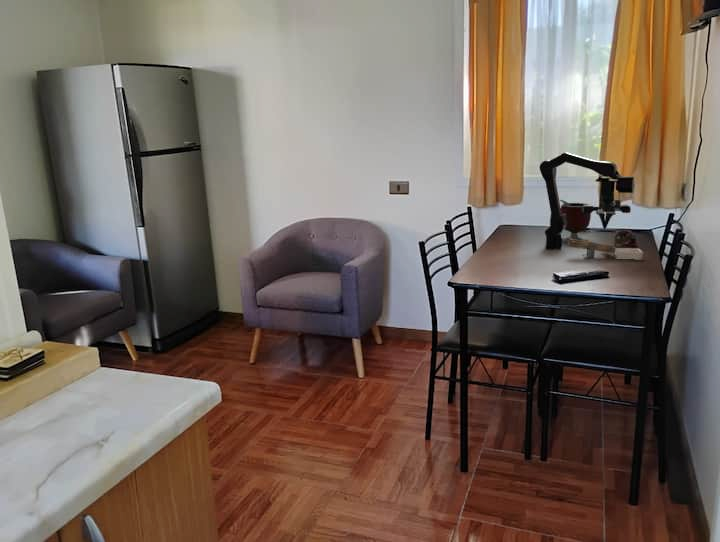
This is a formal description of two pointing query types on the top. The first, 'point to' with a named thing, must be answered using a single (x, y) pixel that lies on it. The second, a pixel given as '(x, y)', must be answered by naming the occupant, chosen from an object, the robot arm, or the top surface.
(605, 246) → the tan flat board
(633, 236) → the pottery mug
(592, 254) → the fulcrum
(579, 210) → the mate gourd
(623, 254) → the dish
